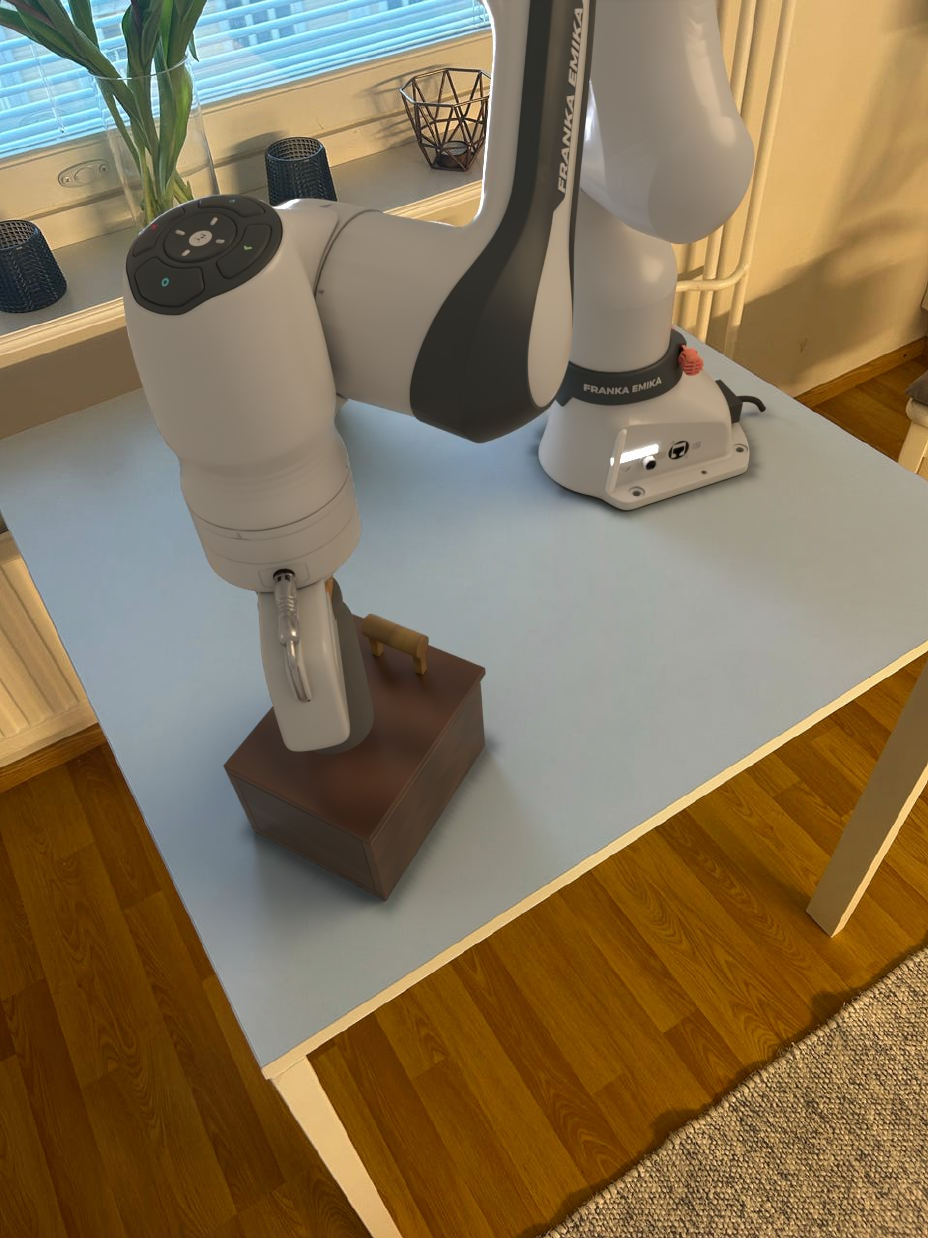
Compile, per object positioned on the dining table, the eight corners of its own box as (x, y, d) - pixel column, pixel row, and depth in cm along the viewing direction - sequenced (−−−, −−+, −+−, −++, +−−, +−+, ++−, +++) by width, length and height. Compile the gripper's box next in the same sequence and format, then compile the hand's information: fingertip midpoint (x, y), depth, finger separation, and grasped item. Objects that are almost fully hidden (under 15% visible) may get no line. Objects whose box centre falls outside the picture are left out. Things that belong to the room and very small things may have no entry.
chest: (361, 689, 83) (346, 625, 76) (485, 744, 78) (481, 681, 72) (253, 830, 74) (225, 772, 68) (386, 901, 70) (370, 846, 63)
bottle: (362, 761, 64) (325, 619, 53) (281, 749, 65) (229, 607, 54) (384, 693, 68) (354, 546, 56) (307, 682, 69) (263, 536, 57)
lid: (351, 618, 77) (342, 578, 73) (486, 673, 72) (483, 634, 69) (225, 771, 68) (208, 734, 64) (370, 845, 63) (360, 810, 59)
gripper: (354, 646, 45) (388, 794, 55) (319, 398, 58) (352, 554, 69) (223, 670, 44) (282, 814, 55) (218, 414, 58) (266, 569, 68)
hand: (320, 668), depth 62 cm, fingers closed on bottle, 5 cm apart
